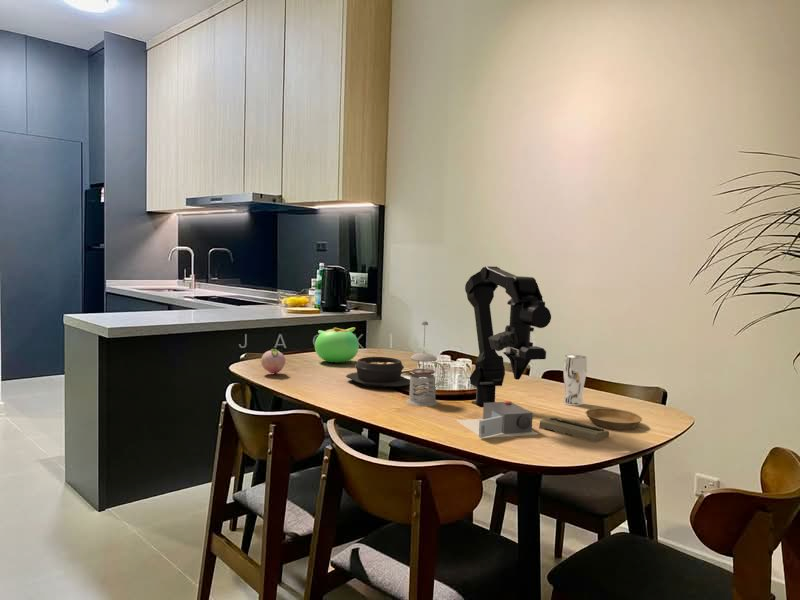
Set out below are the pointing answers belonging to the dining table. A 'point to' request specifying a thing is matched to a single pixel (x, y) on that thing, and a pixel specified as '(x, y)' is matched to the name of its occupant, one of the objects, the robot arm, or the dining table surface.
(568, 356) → the beer glass
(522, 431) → the camera body
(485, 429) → the side door
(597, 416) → the plant saucer
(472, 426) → the mat
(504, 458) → the dining table surface
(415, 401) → the french press
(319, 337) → the green persimmon
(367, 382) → the casserole
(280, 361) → the decorative fruit
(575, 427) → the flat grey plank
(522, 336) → the robot arm
